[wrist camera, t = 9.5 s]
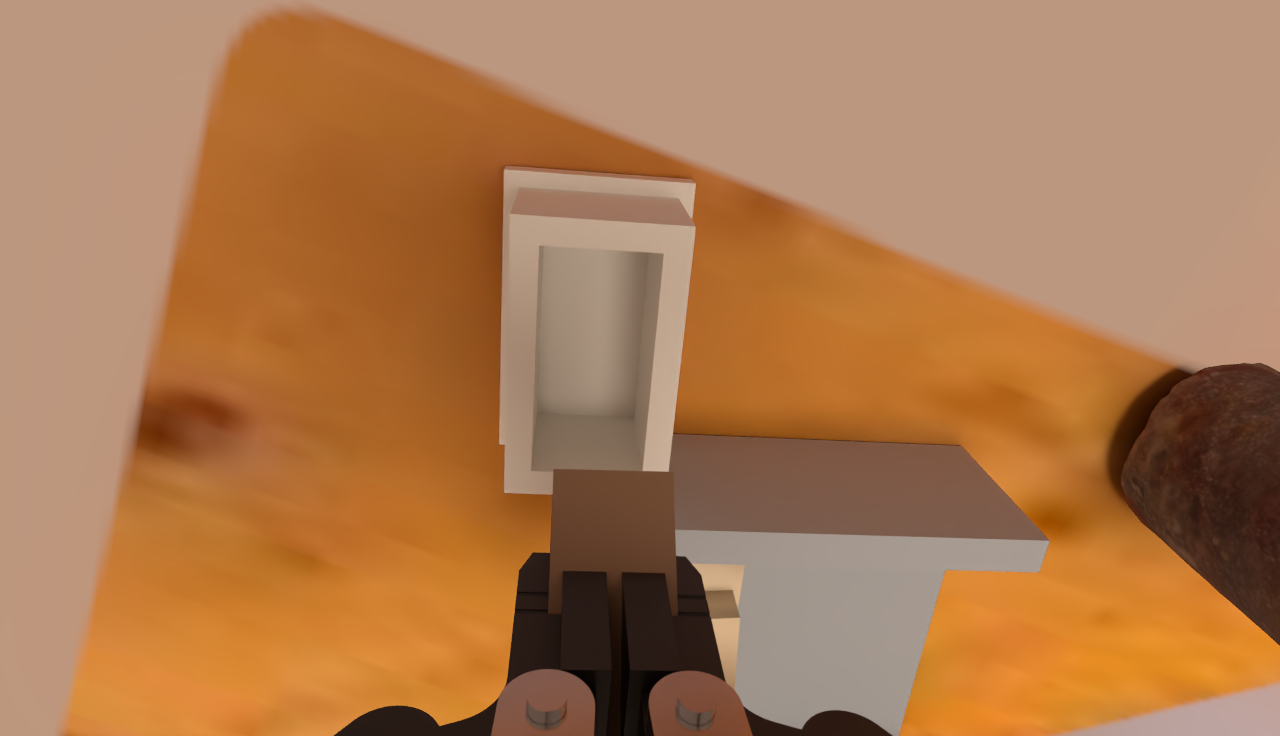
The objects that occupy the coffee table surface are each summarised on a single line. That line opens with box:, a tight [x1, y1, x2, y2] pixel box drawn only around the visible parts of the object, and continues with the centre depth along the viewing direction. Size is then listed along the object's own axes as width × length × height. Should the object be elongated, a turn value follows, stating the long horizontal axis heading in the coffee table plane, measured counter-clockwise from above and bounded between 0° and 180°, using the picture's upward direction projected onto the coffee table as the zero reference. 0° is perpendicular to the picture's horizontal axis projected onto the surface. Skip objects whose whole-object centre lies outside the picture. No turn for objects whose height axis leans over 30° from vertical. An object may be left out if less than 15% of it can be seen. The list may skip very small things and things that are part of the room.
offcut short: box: [705, 590, 740, 690], centre depth 29 cm, size 6×3×2 cm, turn 179°
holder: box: [499, 166, 696, 495], centre depth 25 cm, size 10×6×5 cm, turn 175°
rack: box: [669, 434, 1050, 736], centre depth 30 cm, size 15×13×6 cm
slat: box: [548, 469, 678, 736], centre depth 17 cm, size 5×2×12 cm
